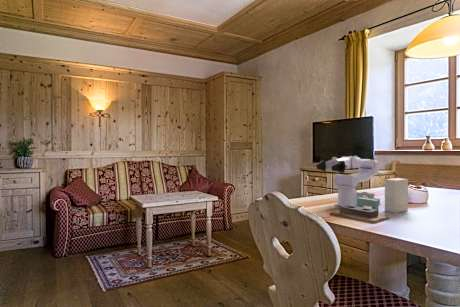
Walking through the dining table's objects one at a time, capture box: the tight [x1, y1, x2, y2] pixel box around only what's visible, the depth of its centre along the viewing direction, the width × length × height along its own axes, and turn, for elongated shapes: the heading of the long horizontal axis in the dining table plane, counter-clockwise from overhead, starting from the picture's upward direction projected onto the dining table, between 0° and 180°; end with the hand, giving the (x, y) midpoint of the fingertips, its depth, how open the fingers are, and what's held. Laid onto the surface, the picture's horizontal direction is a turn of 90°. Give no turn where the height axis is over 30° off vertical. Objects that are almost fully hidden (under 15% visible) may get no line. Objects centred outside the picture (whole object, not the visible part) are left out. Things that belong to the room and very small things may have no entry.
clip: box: [356, 197, 380, 215], centre depth 141 cm, size 2×9×6 cm, turn 37°
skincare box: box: [384, 177, 409, 214], centre depth 142 cm, size 8×6×15 cm
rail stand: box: [329, 205, 390, 224], centre depth 133 cm, size 12×20×4 cm, turn 37°
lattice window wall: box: [357, 191, 381, 205], centre depth 162 cm, size 12×2×6 cm, turn 50°
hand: (324, 167), depth 142 cm, fingers open, 7 cm apart
